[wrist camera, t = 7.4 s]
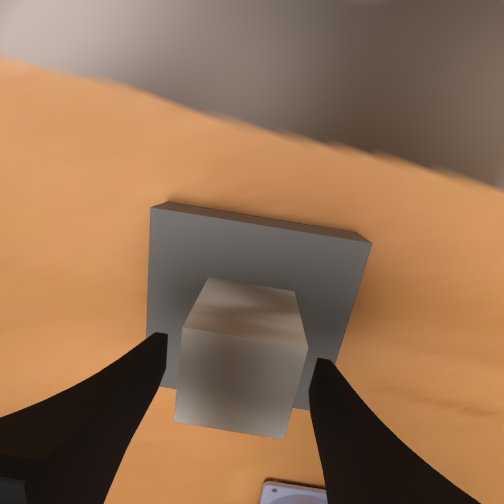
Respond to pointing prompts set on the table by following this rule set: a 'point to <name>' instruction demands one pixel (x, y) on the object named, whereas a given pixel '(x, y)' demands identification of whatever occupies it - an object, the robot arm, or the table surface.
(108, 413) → the robot arm
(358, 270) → the charcoal block
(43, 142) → the table surface
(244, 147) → the table surface
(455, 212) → the table surface
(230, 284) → the gray block
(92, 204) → the table surface
